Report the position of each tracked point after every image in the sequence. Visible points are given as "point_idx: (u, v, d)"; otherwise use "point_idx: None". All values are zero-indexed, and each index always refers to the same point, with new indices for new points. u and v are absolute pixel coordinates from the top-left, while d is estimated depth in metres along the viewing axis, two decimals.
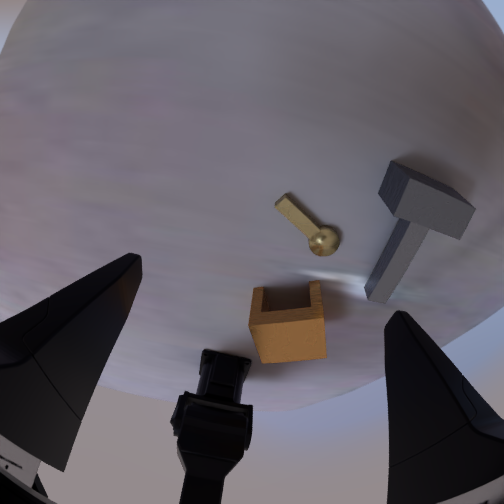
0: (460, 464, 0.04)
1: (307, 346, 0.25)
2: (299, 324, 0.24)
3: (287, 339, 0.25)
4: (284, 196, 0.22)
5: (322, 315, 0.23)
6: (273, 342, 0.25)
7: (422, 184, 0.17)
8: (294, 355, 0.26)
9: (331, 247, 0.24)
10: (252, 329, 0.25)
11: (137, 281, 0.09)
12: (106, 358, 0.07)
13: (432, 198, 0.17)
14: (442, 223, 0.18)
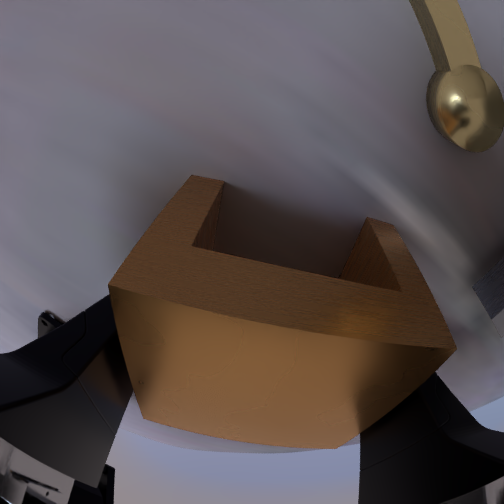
0: (430, 473, 0.04)
1: (314, 424, 0.06)
2: (364, 356, 0.04)
3: (266, 395, 0.06)
4: None
5: (449, 337, 0.05)
6: (201, 390, 0.06)
7: None
8: (255, 434, 0.07)
9: (485, 131, 0.05)
10: (124, 311, 0.04)
11: None
12: None
13: None
14: None
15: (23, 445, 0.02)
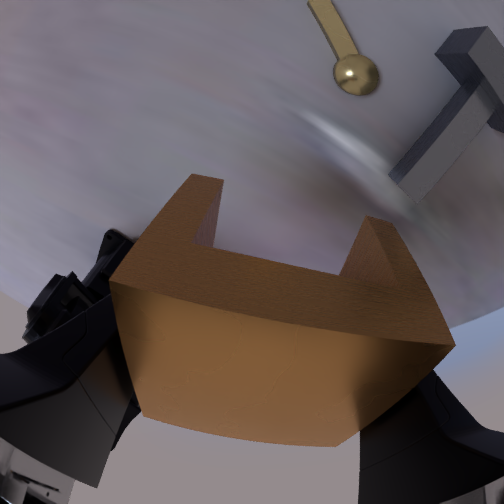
0: (429, 473, 0.04)
1: (314, 421, 0.06)
2: (363, 352, 0.05)
3: (266, 392, 0.06)
4: None
5: (448, 333, 0.05)
6: (201, 386, 0.06)
7: (498, 42, 0.07)
8: (255, 431, 0.07)
9: (365, 84, 0.13)
10: (125, 307, 0.04)
11: None
12: None
13: None
14: None
15: (24, 446, 0.02)
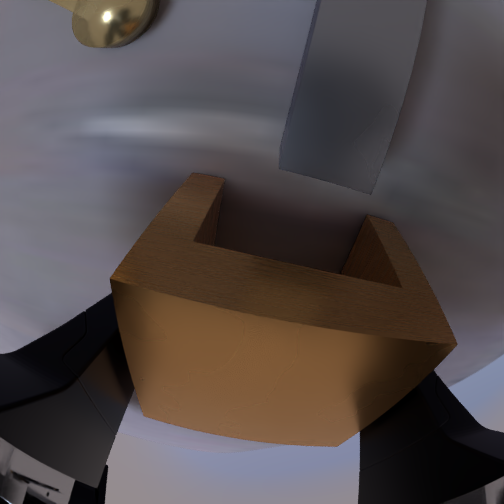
0: (429, 473, 0.04)
1: (315, 421, 0.06)
2: (365, 350, 0.05)
3: (267, 391, 0.06)
4: None
5: (450, 333, 0.05)
6: (202, 386, 0.06)
7: None
8: (256, 431, 0.07)
9: (126, 9, 0.05)
10: (126, 306, 0.04)
11: None
12: None
13: None
14: None
15: (24, 446, 0.02)
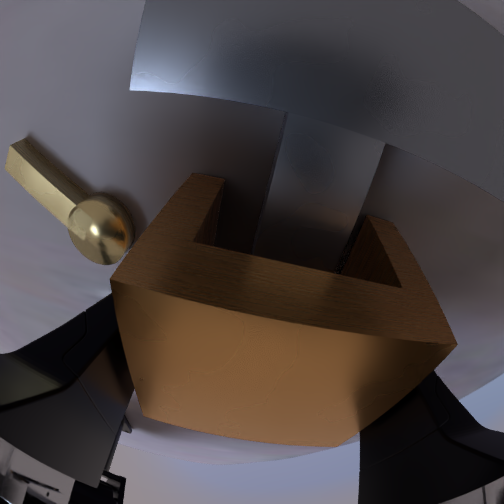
0: (429, 473, 0.04)
1: (315, 421, 0.06)
2: (365, 351, 0.05)
3: (267, 392, 0.06)
4: (15, 144, 0.08)
5: (450, 333, 0.05)
6: (202, 386, 0.06)
7: None
8: (256, 431, 0.07)
9: (111, 243, 0.09)
10: (126, 307, 0.04)
11: None
12: None
13: None
14: (425, 112, 0.03)
15: (24, 445, 0.02)
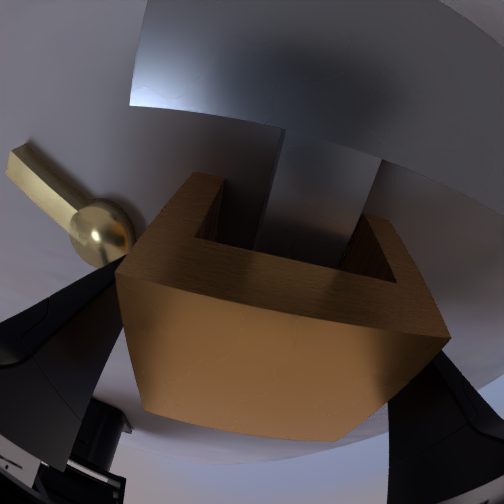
0: (460, 464, 0.04)
1: (313, 415, 0.07)
2: (360, 343, 0.05)
3: (266, 384, 0.06)
4: (16, 149, 0.08)
5: (443, 326, 0.05)
6: (203, 379, 0.06)
7: None
8: (255, 425, 0.07)
9: (112, 248, 0.09)
10: (130, 299, 0.05)
11: None
12: (106, 358, 0.07)
13: None
14: (422, 128, 0.03)
15: None
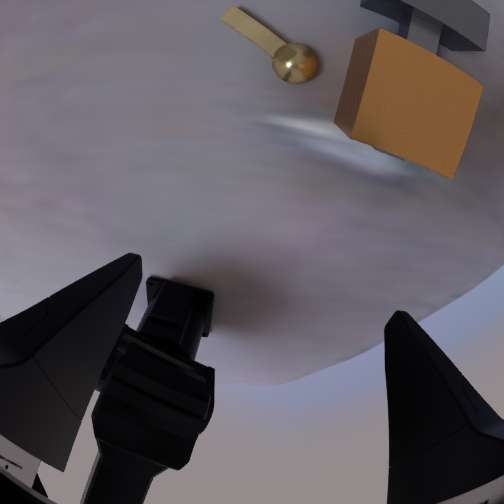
0: (460, 464, 0.04)
1: (443, 130, 0.11)
2: (454, 73, 0.09)
3: (426, 93, 0.10)
4: None
5: (479, 84, 0.09)
6: (401, 88, 0.10)
7: None
8: (416, 143, 0.12)
9: (306, 68, 0.14)
10: (382, 39, 0.09)
11: (137, 281, 0.09)
12: (106, 358, 0.07)
13: None
14: (453, 18, 0.08)
15: None
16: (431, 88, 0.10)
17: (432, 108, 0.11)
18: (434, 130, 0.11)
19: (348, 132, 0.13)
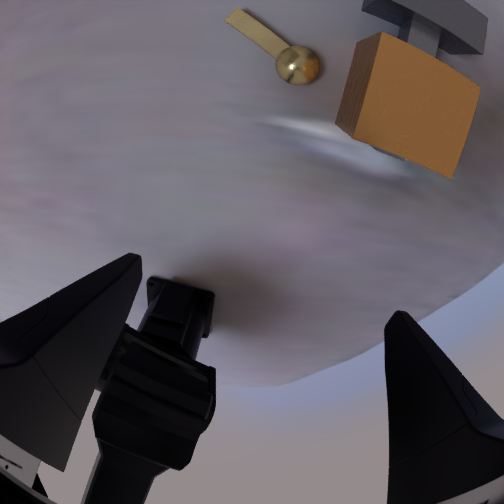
0: (460, 464, 0.04)
1: (442, 131, 0.11)
2: (453, 76, 0.10)
3: (425, 95, 0.11)
4: None
5: (477, 86, 0.10)
6: (401, 90, 0.11)
7: None
8: (416, 143, 0.12)
9: (309, 70, 0.14)
10: (384, 42, 0.09)
11: (137, 281, 0.09)
12: (106, 358, 0.07)
13: None
14: (452, 22, 0.08)
15: None
16: (431, 90, 0.10)
17: (432, 109, 0.11)
18: (433, 131, 0.12)
19: (350, 132, 0.13)
